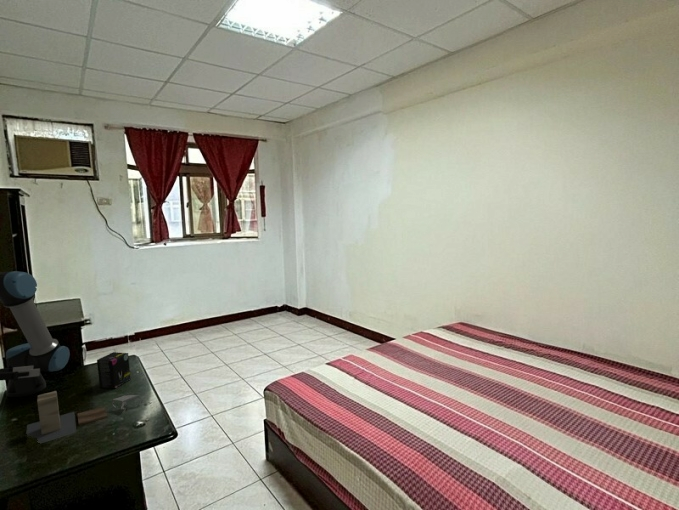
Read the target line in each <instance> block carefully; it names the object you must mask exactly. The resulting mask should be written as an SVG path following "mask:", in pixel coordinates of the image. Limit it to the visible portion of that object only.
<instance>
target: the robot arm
mask: <svg viewBox="0 0 679 510" xmlns="http://www.w3.org/2000/svg"><path fill="white" fill-rule="evenodd" d="M37 287H38V283H37V280H36V279H35V277H34V276H33V275H32V274H30V273H28V272H26V271H25V272H24V271H18V270H17V271H15V270H14V271H0V302H1V304H2V306H3V307H5V308H8V309H10V312H11V313H12V315H13V317H14V319H15V320H16V322H17V324H18V326H19V328H20V330H21V331H22V334H23V336H24V338H25V339H26V341H27V342H26V343H23V344H19V345H16V346H14V347H13V346H12V347H11V348H9V349H7V350H6V352H5V361H6V362H5V363H6V367H3V368H0V381H8V382H7V387H6V390H5V394H6V397H7V396H9V397H20V398H23V397H22V396H25V397H28V395H29V396H32V395H34V394H37V393H39V392H41V391H43V390H45V388H46V387H47V383H46V380H45V378H44V377H43V375H42V373H41V372H57V371H61V370H63V369H64V368H65V366H67V364H68V362H69V360H70V356H71V354H70V349H69V347H67V346H65V345H60V343H59V342H60V341H58V339H57V338H53V337H52V335H51V333H50V332H49V329H48V327H47V325H46V323H45V321H44V319H43V316H42V315H41V313H40V311H39V309H38V307H37V305H36V304H35V301H34V298H35V297H36V292H37Z"/></svg>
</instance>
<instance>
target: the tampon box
mask: <svg viewBox="0 0 679 510" xmlns="http://www.w3.org/2000/svg"><path fill="white" fill-rule="evenodd" d="M96 364H97V373H98V383H99V387H100V388H101V387H103V388H104V389H112V388H116V389H117V388H119V387H120V385H121V384H122V383H124V382H126V381H127V380H129V379H130V380H131V369H130V358H129V352H114V351H113V352H111V353H108V354H107V355H104V356H102V357H99V358H98V359H97V360H96ZM130 380H129V381H130ZM127 382H128V381H127ZM127 382H126V383H127ZM124 384H125V383H124ZM122 385H123V384H122ZM122 385H121V386H122ZM118 386H119V387H118Z"/></svg>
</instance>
